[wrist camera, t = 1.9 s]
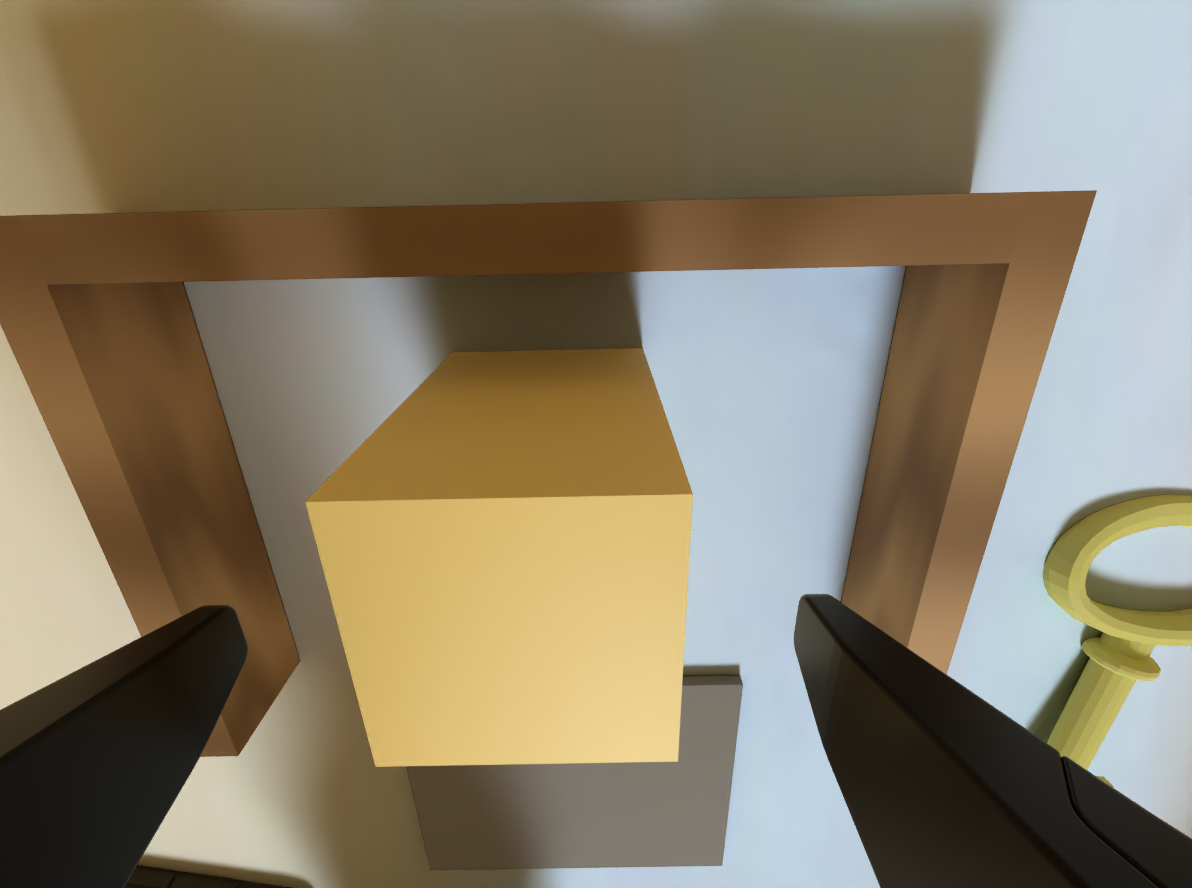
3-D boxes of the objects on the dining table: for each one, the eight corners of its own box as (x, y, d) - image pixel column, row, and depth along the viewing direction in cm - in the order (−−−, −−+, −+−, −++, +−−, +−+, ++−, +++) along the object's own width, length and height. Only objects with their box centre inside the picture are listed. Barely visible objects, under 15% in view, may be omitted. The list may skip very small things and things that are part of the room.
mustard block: (640, 512, 16) (677, 762, 9) (473, 516, 16) (375, 766, 9) (642, 347, 14) (692, 493, 7) (452, 352, 14) (305, 502, 7)
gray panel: (720, 854, 23) (722, 865, 22) (433, 859, 23) (430, 870, 23) (739, 675, 19) (742, 684, 18) (393, 681, 19) (389, 690, 19)
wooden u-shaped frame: (867, 651, 18) (924, 744, 15) (264, 661, 19) (195, 756, 15) (971, 194, 13) (1097, 190, 10) (110, 214, 13) (-49, 216, 10)
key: (994, 773, 22) (1035, 829, 20) (1041, 501, 17) (1101, 539, 15) (1186, 750, 21) (1247, 806, 19) (1289, 466, 16) (1384, 500, 14)
